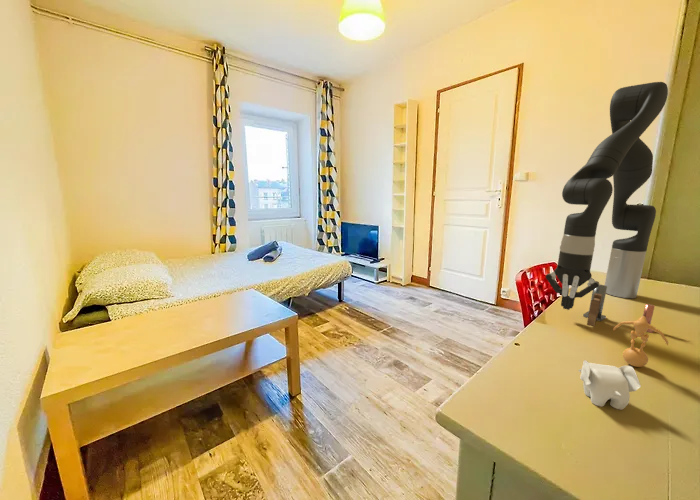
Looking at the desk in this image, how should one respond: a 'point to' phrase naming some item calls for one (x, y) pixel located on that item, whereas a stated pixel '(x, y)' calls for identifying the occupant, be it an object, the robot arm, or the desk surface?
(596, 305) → the gate
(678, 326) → the desk surface
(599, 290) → the gate posts
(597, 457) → the desk surface
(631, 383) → the elephant figurine
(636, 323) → the figurine
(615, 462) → the desk surface
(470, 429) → the desk surface
